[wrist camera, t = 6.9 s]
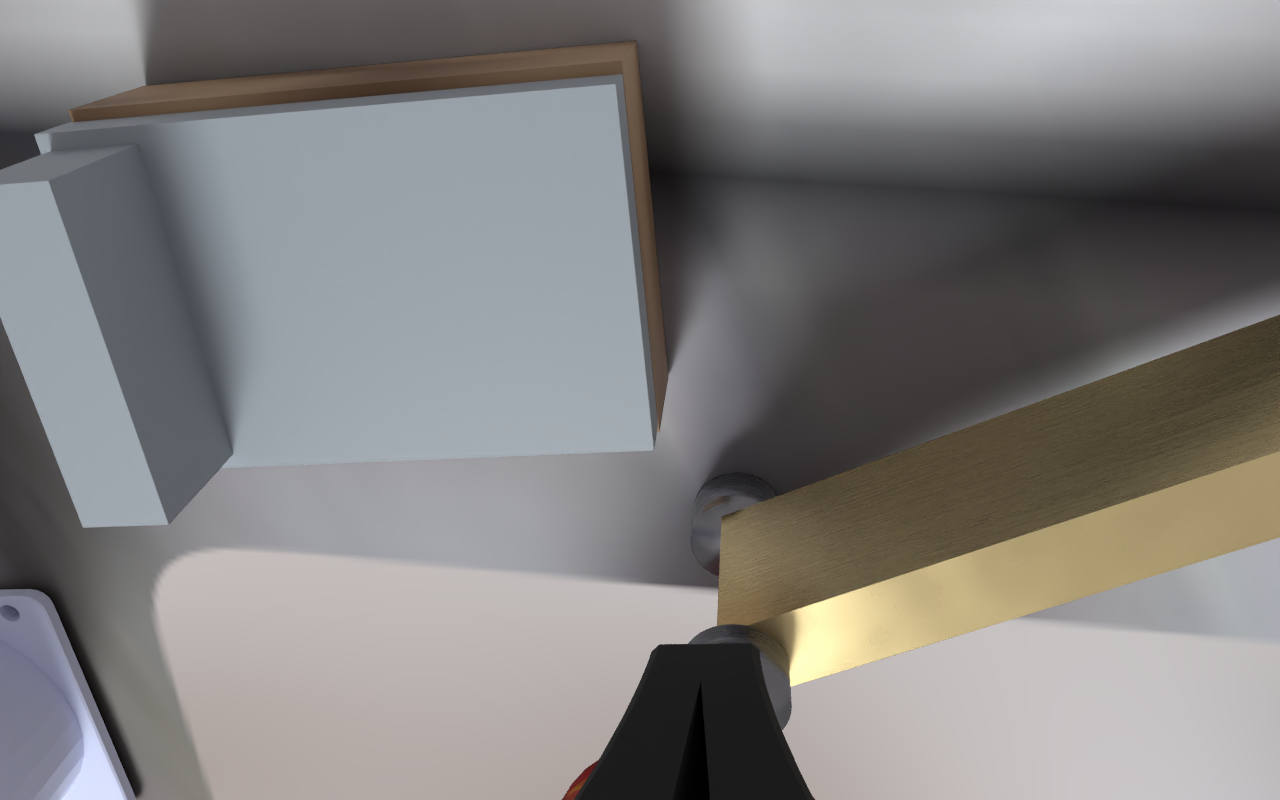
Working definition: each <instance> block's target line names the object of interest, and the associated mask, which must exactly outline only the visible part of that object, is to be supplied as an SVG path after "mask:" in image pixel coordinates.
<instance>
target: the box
mask: <svg viewBox="0 0 1280 800" xmlns="http://www.w3.org/2000/svg"><path fill="white" fill-rule="evenodd" d="M617 74H622V75H623V85H624V95H625V105H626V114H627V124H628V134H629V144H630V154H631V164H632V174H633V183H634V193H635V203H636V213H637V223H638V233H639V243H640V252H641V262H642V272H643V282H644V292H645V302H646V312H647V322H648V331H649V341H650V351H651V361H652V371H653V381H654V391H655V400H656V410H657V420H658V429H657V432H659V431H660V425H661V419H662V413H663V407H664V400H665V394H666V388H667V382H668V367H667V356H666V346H665V335H664V325H663V314H662V303H661V293H660V282H659V272H658V261H657V250H656V240H655V229H654V219H653V208H652V197H651V187H650V176H649V165H648V155H647V144H646V134H645V123H644V112H643V102H642V91H641V81H640V70H639V59H638V49H637V41H627V42H616V43H605V44H594V45H583V46H572V47H561V48H551V49H540V50H529V51H518V52H507V53H496V54H485V55H474V56H463V57H453V58H442V59H431V60H420V61H409V62H398V63H387V64H376V65H365V66H354V67H344V68H333V69H322V70H311V71H300V72H289V73H278V74H267V75H256V76H246V77H235V78H224V79H213V80H202V81H191V82H180V83H169V84H158V85H148V86H142V87H139V88H136V89H133V90H130V91H127V92H123V93H120V94H117V95H114V96H111V97H108V98H105V99H102V100H98V101H95V102H92V103H89V104H86V105H83V106H80V107H77V108H74V109H70V110H68V111H69V114H70V117H71V120H72V122H82V121H93V120H104V119H116V118H127V117H139V116H150V115H161V114H173V113H184V112H195V111H207V110H218V109H230V108H241V107H252V106H264V105H275V104H287V103H298V102H309V101H321V100H332V99H343V98H355V97H366V96H378V95H389V94H400V93H412V92H423V91H435V90H446V89H457V88H469V87H480V86H491V85H503V84H514V83H526V82H537V81H548V80H560V79H571V78H583V77H594V76H605V75H617Z"/></svg>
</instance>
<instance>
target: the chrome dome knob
mask: <svg viewBox="0 0 1280 800" xmlns="http://www.w3.org/2000/svg"><path fill="white" fill-rule="evenodd" d="M774 497H777V495H776V493H775V492H774V490H773V489H772V488H771V487H770V486H769V485H768V484H767V483H765V482H764V481H763V480H761V479H759V478H757V477H754V476H752V475H748V474H741V473H732V474H726V475H722V476H719V477H717V478H714V479H713V480H711V481H709V482H708V483H707V484H706V485H704V487H703V488H702V489H701V490H700V492H699V493H698V495H697V497H696V500H695V504H694V513H693V525H692V536H691V544H692V550H693V553H694V555H695V557H696V559H697V560H698V561H699V563H700V564H701V565H702V566H703V567H704V568H705V569H707V570H708V571H710V572H711V573H713V574H715V575H717V576H719V567H720V543H721V518H722V516H724V515H727V514H730V513H732V512H735V511H738V510H741V509H743V508H746V507H749V506H752V505H755V504H757V503H760V502H763V501H766V500H768V499H771V498H774Z"/></svg>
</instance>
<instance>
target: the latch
mask: <svg viewBox="0 0 1280 800" xmlns="http://www.w3.org/2000/svg"><path fill="white" fill-rule="evenodd" d="M1279 537H1280V315H1278V316H1275V317H1272V318H1269V319H1267V320H1264V321H1261V322H1258V323H1255V324H1253V325H1250V326H1247V327H1244V328H1242V329H1239V330H1236V331H1233V332H1231V333H1228V334H1225V335H1222V336H1220V337H1217V338H1214V339H1211V340H1208V341H1206V342H1203V343H1200V344H1197V345H1195V346H1192V347H1189V348H1186V349H1184V350H1181V351H1178V352H1175V353H1172V354H1170V355H1167V356H1164V357H1161V358H1159V359H1156V360H1153V361H1150V362H1148V363H1145V364H1142V365H1139V366H1136V367H1134V368H1131V369H1128V370H1125V371H1123V372H1120V373H1117V374H1114V375H1112V376H1109V377H1106V378H1103V379H1101V380H1098V381H1095V382H1092V383H1089V384H1087V385H1084V386H1081V387H1078V388H1076V389H1073V390H1070V391H1067V392H1065V393H1062V394H1059V395H1056V396H1053V397H1051V398H1048V399H1045V400H1042V401H1040V402H1037V403H1034V404H1031V405H1029V406H1026V407H1023V408H1020V409H1017V410H1015V411H1012V412H1009V413H1006V414H1004V415H1001V416H998V417H995V418H993V419H990V420H987V421H984V422H981V423H979V424H976V425H973V426H970V427H968V428H965V429H962V430H959V431H957V432H954V433H951V434H948V435H946V436H943V437H940V438H937V439H934V440H932V441H929V442H926V443H923V444H921V445H918V446H915V447H912V448H910V449H907V450H904V451H901V452H898V453H896V454H893V455H890V456H887V457H885V458H882V459H879V460H876V461H874V462H871V463H868V464H865V465H862V466H860V467H857V468H854V469H851V470H849V471H846V472H843V473H840V474H838V475H835V476H832V477H829V478H827V479H824V480H821V481H818V482H815V483H813V484H810V485H807V486H804V487H802V488H799V489H796V490H793V491H791V492H788V493H785V494H782V495H779V496H777V497H774V498H771V499H768V500H766V501H763V502H760V503H757V504H755V505H752V506H749V507H746V508H743V509H741V510H738V511H735V512H732V513H730V514H727V515H724V516H722V518H721V543H720V567H719V592H718V618H717V626H716V627H712V628H710V629H707V630H705V631H703V632H701V633H699V634H698V635H697V636H696V637H694V638H693V639H692V640H691V641H690V642H689V643H688V644H732V643H752V644H753V645H754V646H755V647H756V648H758V649H759V650H760V659H761V665H762V671H763V675H764V679H765V683H766V687H767V690H768V694H769V697H770V700H771V702H772V705H773V708H774V711H775V714H776V717H777V720H778V722H779V725H780V727H781V730H783V728H784V727H785V726H786V724H787V723H788V720H789V718H790V715H791V707H792V706H791V688H790V687H792V686H795V685H799V684H802V683H805V682H808V681H812V680H815V679H818V678H822V677H824V676H828V675H831V674H835V673H838V672H841V671H844V670H847V669H851V668H854V667H857V666H860V665H864V664H867V663H871V662H874V661H877V660H880V659H883V658H887V657H890V656H893V655H896V654H900V653H903V652H906V651H910V650H913V649H916V648H919V647H922V646H926V645H929V644H933V643H936V642H939V641H942V640H946V639H949V638H952V637H955V636H959V635H962V634H965V633H968V632H972V631H975V630H978V629H981V628H985V627H988V626H991V625H994V624H998V623H1001V622H1004V621H1008V620H1011V619H1014V618H1018V617H1021V616H1024V615H1027V614H1031V613H1034V612H1037V611H1040V610H1044V609H1047V608H1050V607H1053V606H1057V605H1060V604H1063V603H1067V602H1070V601H1073V600H1076V599H1080V598H1083V597H1086V596H1089V595H1093V594H1096V593H1099V592H1102V591H1106V590H1109V589H1112V588H1116V587H1119V586H1122V585H1125V584H1129V583H1132V582H1135V581H1138V580H1142V579H1145V578H1148V577H1151V576H1155V575H1158V574H1161V573H1165V572H1168V571H1171V570H1174V569H1178V568H1181V567H1184V566H1187V565H1191V564H1194V563H1197V562H1200V561H1204V560H1207V559H1210V558H1214V557H1217V556H1220V555H1223V554H1227V553H1230V552H1233V551H1236V550H1240V549H1243V548H1246V547H1249V546H1253V545H1256V544H1259V543H1263V542H1266V541H1269V540H1272V539H1276V538H1279Z"/></svg>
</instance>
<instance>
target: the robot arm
mask: <svg viewBox="0 0 1280 800" xmlns="http://www.w3.org/2000/svg"><path fill="white" fill-rule="evenodd" d="M13 607H14V608H15V609H17V610H15V609H14V608H13ZM0 800H136V797H135V795H134V793H133V790H132V788H131V786H130V783H129V781H128V778H127V776H126V774H125V771H124V769H123V767H122V764H121V762H120V760H119V757H118V755H117V753H116V750H115V748H114V745H113V743H112V741H111V738H110V736H109V734H108V731H107V729H106V727H105V724H104V722H103V719H102V717H101V715H100V712H99V710H98V708H97V705H96V703H95V701H94V698H93V696H92V694H91V691H90V689H89V686H88V684H87V682H86V679H85V677H84V675H83V672H82V670H81V668H80V665H79V663H78V661H77V658H76V656H75V653H74V651H73V649H72V646H71V644H70V642H69V639H68V637H67V635H66V632H65V630H64V628H63V625H62V623H61V620H60V618H59V616H58V613H57V611H56V609H55V606H54V604H53V602H52V601H51V599H50V598H49V597H48V596H47V595H46V594H44V593H43V592H40V591H38V590H33V589H7V590H0ZM574 800H814V798H813V797H812V795H811V793H810V791H809V789H808V787H807V785H806V783H805V781H804V779H803V777H802V775H801V773H800V771H799V769H798V766H797V764H796V762H795V760H794V757H793V755H792V753H791V751H790V748H789V746H788V744H787V742H786V739H785V737H784V735H783V732H782V730H781V727H780V725H779V722H778V720H777V717H776V714H775V711H774V708H773V705H772V702H771V700H770V697H769V694H768V690H767V687H766V683H765V679H764V675H763V671H762V665H761V659H760V650H759V649H758V648H756V647H755V646H754V645H753V644H752V643H732V644H665V645H658V646H657V647H656V648H655V649H654V650H653V651H652V652H651V655H650V659H649V661H648V664H647V666H646V669H645V671H644V673H643V676H642V678H641V681H640V683H639V685H638V687H637V689H636V692H635V694H634V696H633V698H632V700H631V702H630V704H629V706H628V708H627V710H626V712H625V714H624V716H623V718H622V720H621V722H620V723H619V725H618V727H617V729H616V730H615V732H614V734H613V736H612V738H611V740H610V741H609V743H608V745H607V747H606V748H605V751H604V752H603V754H602V756H601V758H600V759H599V761H598V762H597V764H596V766H595V767H594V769H593V770H592V772H591V773H590V775H589V777H588V778H587V780H586V781H585V783H584V784H583V786H582V787H581V789H580V790H579V792H578V794H577V795H576V797H575V798H574Z"/></svg>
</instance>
